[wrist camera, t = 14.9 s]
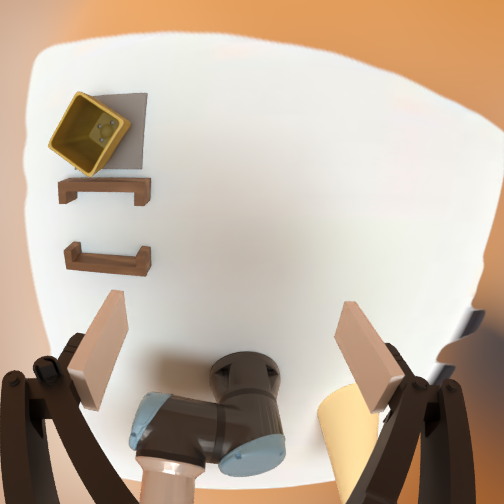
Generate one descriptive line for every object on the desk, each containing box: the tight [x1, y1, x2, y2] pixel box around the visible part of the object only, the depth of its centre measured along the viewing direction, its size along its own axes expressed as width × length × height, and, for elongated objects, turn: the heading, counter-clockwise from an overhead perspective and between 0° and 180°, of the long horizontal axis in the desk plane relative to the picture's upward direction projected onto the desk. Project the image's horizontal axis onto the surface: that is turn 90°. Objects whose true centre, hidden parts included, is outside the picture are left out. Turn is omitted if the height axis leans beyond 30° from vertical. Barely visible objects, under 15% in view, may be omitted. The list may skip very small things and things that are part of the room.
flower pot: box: [48, 92, 131, 177], centre depth 35 cm, size 9×9×9 cm
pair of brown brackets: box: [58, 178, 151, 276], centre depth 44 cm, size 15×15×4 cm
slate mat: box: [75, 93, 148, 170], centre depth 40 cm, size 12×12×1 cm
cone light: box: [317, 383, 379, 504], centre depth 55 cm, size 25×18×35 cm
